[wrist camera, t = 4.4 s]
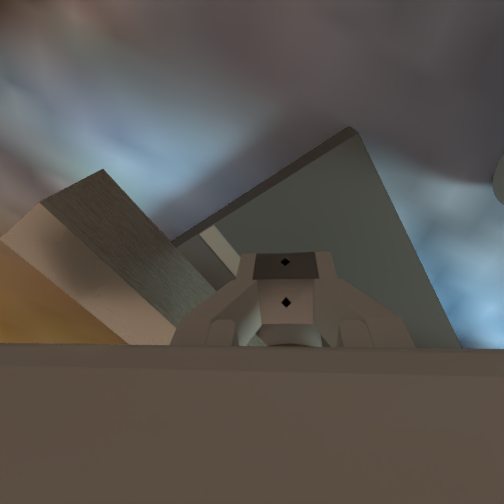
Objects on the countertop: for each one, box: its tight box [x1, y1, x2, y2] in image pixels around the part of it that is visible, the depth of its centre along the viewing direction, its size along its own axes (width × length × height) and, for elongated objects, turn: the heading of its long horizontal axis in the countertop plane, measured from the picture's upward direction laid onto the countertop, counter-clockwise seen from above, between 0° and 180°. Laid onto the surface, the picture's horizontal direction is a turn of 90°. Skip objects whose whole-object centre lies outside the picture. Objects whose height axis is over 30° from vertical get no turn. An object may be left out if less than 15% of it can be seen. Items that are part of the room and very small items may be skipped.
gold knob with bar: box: [0, 169, 313, 347], centre depth 12 cm, size 18×9×4 cm, turn 35°
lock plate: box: [171, 126, 462, 349], centre depth 19 cm, size 18×18×6 cm
